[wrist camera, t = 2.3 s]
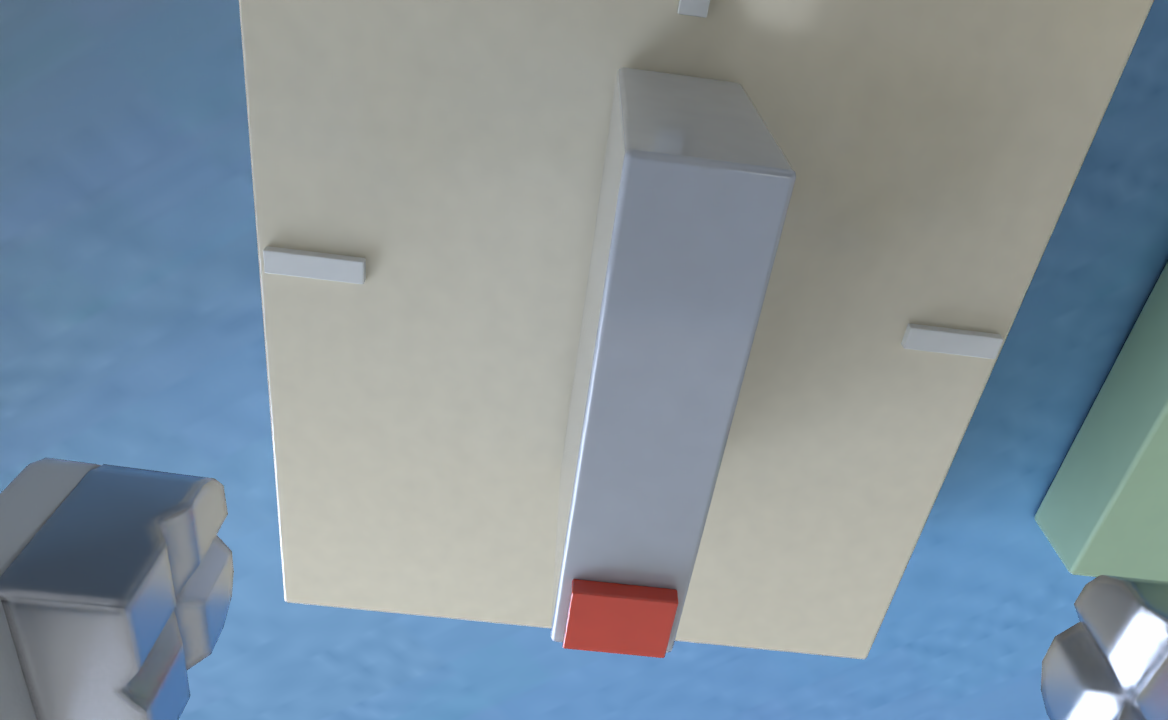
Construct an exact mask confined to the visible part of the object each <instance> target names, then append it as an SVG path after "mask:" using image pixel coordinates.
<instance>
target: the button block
mask: <svg viewBox="0 0 1168 720" xmlns="http://www.w3.org/2000/svg"><path fill="white" fill-rule="evenodd" d="M1035 520H1036V522H1037V523H1038V525H1039V527H1040V528H1041V530H1042V531H1043V533H1044V534H1045V536H1046V537H1047V539H1048V540H1049V542H1050V543H1051V545H1052V546H1053V548H1054V550H1055V551H1056V553H1057V554H1058V556H1059V557H1060V559H1061V560H1062V562H1063V563H1064V565H1065V566H1066V568H1067V569H1068V571H1069V572H1070V573H1071V574H1074V575H1083V576H1093V577H1098V576H1100V575H1109V576H1119V577H1129V578H1139V579H1149V580H1159V581H1168V261H1167V263H1166V265H1165V267H1164V269H1163V271H1162V273H1161V275H1160V277H1159V279H1158V281H1157V283H1156V284H1155V286H1154V288H1153V290H1152V292H1151V294H1150V296H1149V298H1148V300H1147V302H1146V304H1145V306H1144V307H1143V309H1142V311H1141V313H1140V315H1139V317H1138V319H1137V321H1136V323H1135V325H1134V327H1133V329H1132V331H1131V332H1130V334H1129V336H1128V338H1127V340H1126V342H1125V344H1124V346H1123V348H1122V350H1121V352H1120V354H1119V355H1118V357H1117V359H1116V361H1115V363H1114V365H1113V367H1112V369H1111V371H1110V373H1109V375H1108V377H1107V379H1106V380H1105V382H1104V384H1103V386H1102V388H1101V390H1100V392H1099V394H1098V396H1097V398H1096V400H1095V402H1094V403H1093V405H1092V407H1091V409H1090V411H1089V413H1088V415H1087V417H1086V419H1085V421H1084V423H1083V425H1082V427H1081V428H1080V430H1079V432H1078V434H1077V436H1076V438H1075V440H1074V442H1073V444H1072V446H1071V448H1070V450H1069V451H1068V453H1067V455H1066V457H1065V459H1064V461H1063V463H1062V465H1061V467H1060V469H1059V471H1058V473H1057V475H1056V476H1055V478H1054V480H1053V482H1052V484H1051V486H1050V488H1049V490H1048V492H1047V494H1046V496H1045V498H1044V499H1043V501H1042V503H1041V505H1040V507H1039V509H1038V511H1037V513H1036V515H1035Z"/></svg>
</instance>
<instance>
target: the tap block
mask: <svg viewBox="0 0 1168 720" xmlns="http://www.w3.org/2000/svg"><path fill="white" fill-rule="evenodd" d="M1153 2H1154V0H239V10H240V23H241V36H242V49H243V62H244V75H245V89H246V102H247V115H248V128H249V141H250V154H251V167H252V181H253V194H254V207H255V220H256V233H257V246H258V260H259V273H260V286H261V299H262V312H263V325H264V339H265V352H266V365H267V378H268V391H269V404H270V417H271V431H272V444H273V457H274V470H275V483H276V496H277V510H278V523H279V536H280V549H281V562H282V575H283V589H284V600H285V602H288V603H298V604H308V605H318V606H329V607H339V608H349V609H359V610H369V611H379V612H389V613H399V614H410V615H420V616H430V617H440V618H450V619H460V620H470V621H480V622H491V623H501V624H511V625H521V626H531V627H541V628H551V618H552V602H553V585H554V568H555V552H556V535H557V519H558V502H559V485H560V471H561V464H562V457H563V450H564V443H565V436H566V429H567V422H568V414H569V407H570V400H571V393H572V386H573V379H574V372H575V365H576V358H577V351H578V344H579V337H580V330H581V323H582V316H583V309H584V302H585V295H586V287H587V280H588V273H589V266H590V259H591V252H592V245H593V238H594V231H595V224H596V217H597V210H598V203H599V196H600V189H601V182H602V175H603V168H604V160H605V153H606V146H607V139H608V132H609V125H610V118H611V111H612V104H613V97H614V90H615V83H616V76H617V72H618V70H619V69H620V68H623V67H625V68H632V69H640V70H647V71H655V72H662V73H669V74H677V75H684V76H692V77H699V78H707V79H714V80H722V81H729V82H737V83H740V84H741V85H743V87H744V89H745V90H746V92H747V93H748V95H749V97H750V98H751V100H752V102H753V103H754V105H755V106H756V108H757V110H758V111H759V113H760V115H761V116H762V118H763V120H764V121H765V123H766V124H767V126H768V128H769V129H770V131H771V133H772V134H773V136H774V138H775V139H776V141H777V142H778V144H779V146H780V147H781V149H782V151H783V152H784V154H785V155H786V157H787V159H788V160H789V162H790V164H791V165H792V167H793V169H794V170H795V172H796V181H795V185H794V189H793V192H792V196H791V200H790V204H789V208H788V211H787V215H786V219H785V223H784V227H783V230H782V234H781V238H780V242H779V246H778V250H777V253H776V257H775V261H774V265H773V269H772V272H771V276H770V280H769V284H768V288H767V291H766V295H765V299H764V303H763V307H762V310H761V314H760V318H759V322H758V326H757V329H756V333H755V337H754V341H753V345H752V348H751V352H750V356H749V360H748V364H747V368H746V371H745V375H744V379H743V383H742V387H741V390H740V394H739V398H738V402H737V406H736V409H735V413H734V417H733V421H732V425H731V428H730V432H729V436H728V440H727V444H726V447H725V451H724V455H723V459H722V463H721V466H720V470H719V474H718V478H717V482H716V486H715V489H714V493H713V497H712V501H711V505H710V508H709V512H708V516H707V520H706V524H705V527H704V531H703V535H702V539H701V543H700V546H699V550H698V554H697V558H696V562H695V565H694V569H693V573H692V577H691V581H690V584H689V588H688V592H687V596H686V600H685V604H684V607H683V611H682V615H681V619H680V623H679V626H678V630H677V634H676V638H675V641H683V642H693V643H703V644H713V645H724V646H734V647H744V648H754V649H764V650H774V651H784V652H794V653H805V654H815V655H825V656H835V657H845V658H855V659H866V658H867V656H868V654H869V651H870V649H871V647H872V644H873V642H874V640H875V638H876V635H877V633H878V631H879V628H880V626H881V624H882V622H883V619H884V617H885V615H886V612H887V610H888V608H889V605H890V603H891V601H892V599H893V596H894V594H895V592H896V589H897V587H898V585H899V583H900V580H901V578H902V576H903V573H904V571H905V569H906V567H907V564H908V562H909V560H910V557H911V555H912V553H913V551H914V548H915V546H916V544H917V541H918V539H919V537H920V535H921V532H922V530H923V528H924V525H925V523H926V521H927V519H928V516H929V514H930V512H931V509H932V507H933V505H934V503H935V500H936V498H937V496H938V493H939V491H940V489H941V487H942V484H943V482H944V480H945V477H946V475H947V473H948V471H949V468H950V466H951V464H952V461H953V459H954V457H955V455H956V452H957V450H958V448H959V445H960V443H961V441H962V438H963V436H964V434H965V432H966V429H967V427H968V425H969V422H970V420H971V418H972V416H973V413H974V411H975V409H976V406H977V404H978V402H979V400H980V397H981V395H982V393H983V390H984V388H985V386H986V384H987V381H988V379H989V377H990V374H991V372H992V370H993V368H994V365H995V363H996V361H997V358H998V356H999V354H1000V352H1001V349H1002V347H1003V345H1004V342H1005V340H1006V338H1007V336H1008V333H1009V331H1010V329H1011V326H1012V324H1013V322H1014V320H1015V317H1016V315H1017V313H1018V310H1019V308H1020V306H1021V304H1022V301H1023V299H1024V297H1025V294H1026V292H1027V290H1028V287H1029V285H1030V283H1031V281H1032V278H1033V276H1034V274H1035V271H1036V269H1037V267H1038V265H1039V262H1040V260H1041V258H1042V255H1043V253H1044V251H1045V249H1046V246H1047V244H1048V242H1049V239H1050V237H1051V235H1052V233H1053V230H1054V228H1055V226H1056V223H1057V221H1058V219H1059V217H1060V214H1061V212H1062V210H1063V207H1064V205H1065V203H1066V201H1067V198H1068V196H1069V194H1070V191H1071V189H1072V187H1073V185H1074V182H1075V180H1076V178H1077V175H1078V173H1079V171H1080V169H1081V166H1082V164H1083V162H1084V159H1085V157H1086V155H1087V153H1088V150H1089V148H1090V146H1091V143H1092V141H1093V139H1094V137H1095V134H1096V132H1097V130H1098V127H1099V125H1100V123H1101V120H1102V118H1103V116H1104V114H1105V111H1106V109H1107V107H1108V104H1109V102H1110V100H1111V98H1112V95H1113V93H1114V91H1115V88H1116V86H1117V84H1118V82H1119V79H1120V77H1121V75H1122V72H1123V70H1124V68H1125V66H1126V63H1127V61H1128V59H1129V56H1130V54H1131V52H1132V50H1133V47H1134V45H1135V43H1136V40H1137V38H1138V36H1139V34H1140V31H1141V29H1142V27H1143V24H1144V22H1145V20H1146V18H1147V15H1148V13H1149V11H1150V8H1151V6H1152V4H1153Z"/></svg>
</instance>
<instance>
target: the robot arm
mask: <svg viewBox="0 0 1168 720" xmlns="http://www.w3.org/2000/svg"><path fill="white" fill-rule="evenodd" d="M227 515H228V512H227V506H226V499H225V493H224V486H223V485H222V484H221V483H220V482H218V481H217V480H216V479H214V478H206V477H198V476H191V475H183V474H175V473H168V472H160V471H153V470H145V469H137V468H130V467H122V466H114V465H107V464H103V465H97V464H91V463H84V462H76V461H68V460H61V459H53V458H44V459H41V460H39V461H36V462H33V463H30V464H29V465H28V466H26V467H25V468H24V469H23V470H22V471H21V473H20V474H19V475H18V476H17V477H16V478H15V479H14V480H13V481H12V482H11V483H10V484H9V485H8V486H7V487H6V488H5V489H4V490H3V491H2V492H1V493H0V720H179V718H180V716H181V714H182V712H183V710H184V708H185V706H186V704H187V702H188V700H189V698H190V691H189V684H188V677H187V670H188V669H190V668H191V667H193V666H194V665H196V664H197V663H198V662H200V661H201V660H203V659H204V658H206V657H207V656H209V655H210V654H211V653H212V651H213V649H214V646H215V644H216V642H217V640H218V638H219V636H220V633H221V631H222V629H223V627H224V623H225V619H226V615H227V612H228V608H229V604H230V601H231V597H232V586H233V572H234V571H233V560H232V551H231V550H230V549H229V548H228V547H227V546H226V545H225V543H224V542H223V541H222V540H221V539H220V538H219V537H218V536H217V535H216V534H217V533H218V531H219V529H220V527H221V525H222V524H223V522H224V520H225V518H226V516H227ZM1074 605H1075V609H1076V612H1077V615H1078V618H1079V621H1080V622H1079V623H1077V624H1075V625H1074V626H1072V627H1070V628H1069V629H1067V630H1065V631H1064V632H1062V633H1060V634H1059V635H1057V636H1055V638H1054V640H1053V641H1052V643H1051V645H1050V647H1049V649H1048V651H1047V653H1046V655H1045V657H1044V659H1043V661H1042V677H1041V692H1042V696H1043V700H1044V704H1045V708H1046V712H1047V714H1048V716H1049V718H1050V720H1168V581H1159V580H1149V579H1139V578H1129V577H1119V576H1109V575H1100V576H1098V577H1097V578H1095V579H1094V580H1092V581H1091V582H1089V583H1088V584H1086V585H1085V587H1084V588H1083V590H1082V592H1081V593H1080V595H1079V597H1078V598H1077V600H1076V601H1075V603H1074Z"/></svg>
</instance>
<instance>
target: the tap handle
mask: <svg viewBox="0 0 1168 720" xmlns="http://www.w3.org/2000/svg"><path fill="white" fill-rule="evenodd" d="M795 181H796V172H795V170H794V169H793V167H792V165H791V164H790V162H789V160H788V159H787V157H786V155H785V154H784V152H783V151H782V149H781V147H780V146H779V144H778V142H777V141H776V139H775V138H774V136H773V134H772V133H771V131H770V129H769V128H768V126H767V124H766V123H765V121H764V120H763V118H762V116H761V115H760V113H759V111H758V110H757V108H756V106H755V105H754V103H753V102H752V100H751V98H750V97H749V95H748V93H747V92H746V90H745V89H744V87H743V85H741V84H740V83H737V82H729V81H722V80H714V79H707V78H699V77H692V76H684V75H677V74H669V73H662V72H655V71H647V70H640V69H632V68H625V67H623V68H620V69H619V70H618V72H617V76H616V83H615V90H614V97H613V104H612V111H611V118H610V125H609V132H608V139H607V146H606V153H605V160H604V168H603V175H602V182H601V189H600V196H599V203H598V210H597V217H596V224H595V231H594V238H593V245H592V252H591V259H590V266H589V273H588V280H587V287H586V295H585V302H584V309H583V316H582V323H581V330H580V337H579V344H578V351H577V358H576V365H575V372H574V379H573V386H572V393H571V400H570V407H569V414H568V422H567V429H566V436H565V443H564V450H563V457H562V464H561V471H560V485H559V502H558V519H557V535H556V552H555V568H554V585H553V602H552V618H551V638H552V640H553V641H555V642H563V648H565V649H576V650H586V651H596V652H606V653H617V654H627V655H637V656H647V657H658V658H664V657H665V654H666V653H668V652H671V651H672V648H673V645H674V642H675V638H676V634H677V630H678V626H679V623H680V619H681V615H682V611H683V607H684V604H685V600H686V596H687V592H688V588H689V584H690V581H691V577H692V573H693V569H694V565H695V562H696V558H697V554H698V550H699V546H700V543H701V539H702V535H703V531H704V527H705V524H706V520H707V516H708V512H709V508H710V505H711V501H712V497H713V493H714V489H715V486H716V482H717V478H718V474H719V470H720V466H721V463H722V459H723V455H724V451H725V447H726V444H727V440H728V436H729V432H730V428H731V425H732V421H733V417H734V413H735V409H736V406H737V402H738V398H739V394H740V390H741V387H742V383H743V379H744V375H745V371H746V368H747V364H748V360H749V356H750V352H751V348H752V345H753V341H754V337H755V333H756V329H757V326H758V322H759V318H760V314H761V310H762V307H763V303H764V299H765V295H766V291H767V288H768V284H769V280H770V276H771V272H772V269H773V265H774V261H775V257H776V253H777V250H778V246H779V242H780V238H781V234H782V230H783V227H784V223H785V219H786V215H787V211H788V208H789V204H790V200H791V196H792V192H793V189H794V185H795Z"/></svg>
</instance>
